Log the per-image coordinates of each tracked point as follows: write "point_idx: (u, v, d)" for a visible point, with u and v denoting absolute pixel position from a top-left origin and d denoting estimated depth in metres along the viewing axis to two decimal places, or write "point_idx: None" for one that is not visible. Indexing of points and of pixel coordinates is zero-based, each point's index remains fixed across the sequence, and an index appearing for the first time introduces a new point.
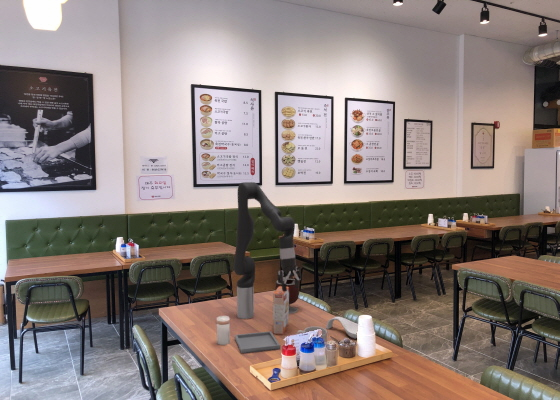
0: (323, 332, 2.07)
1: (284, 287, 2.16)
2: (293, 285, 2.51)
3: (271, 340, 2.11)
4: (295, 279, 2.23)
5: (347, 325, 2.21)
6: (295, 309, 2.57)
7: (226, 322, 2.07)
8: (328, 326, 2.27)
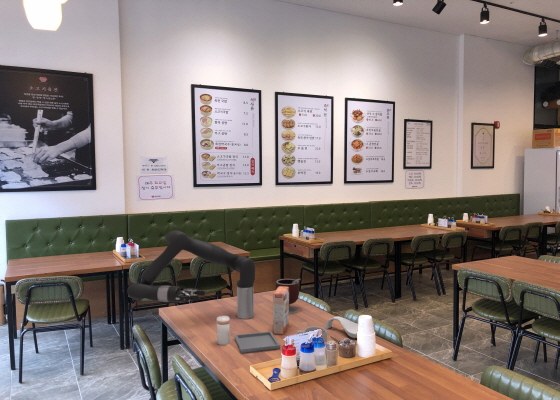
0: (323, 332, 2.07)
1: None
2: (293, 285, 2.51)
3: (271, 340, 2.11)
4: None
5: (346, 325, 2.22)
6: (295, 309, 2.57)
7: (226, 322, 2.07)
8: (327, 326, 2.28)
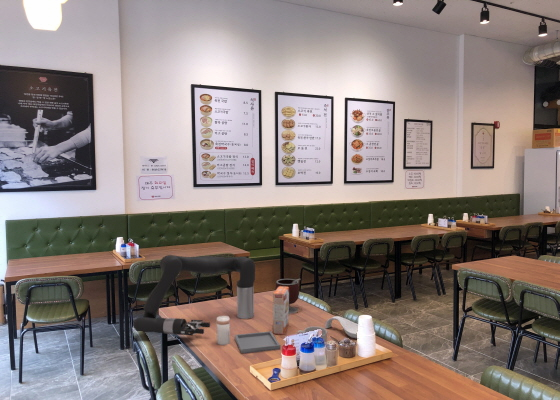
0: (323, 332, 2.07)
1: None
2: (293, 285, 2.51)
3: (271, 340, 2.11)
4: None
5: (346, 325, 2.22)
6: (295, 309, 2.57)
7: (226, 322, 2.07)
8: (327, 325, 2.28)
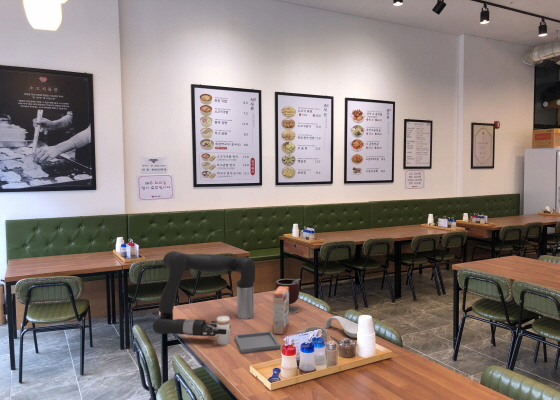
0: (323, 332, 2.07)
1: None
2: (293, 285, 2.51)
3: (271, 340, 2.11)
4: None
5: (345, 324, 2.23)
6: (295, 309, 2.57)
7: (226, 322, 2.07)
8: (326, 325, 2.29)
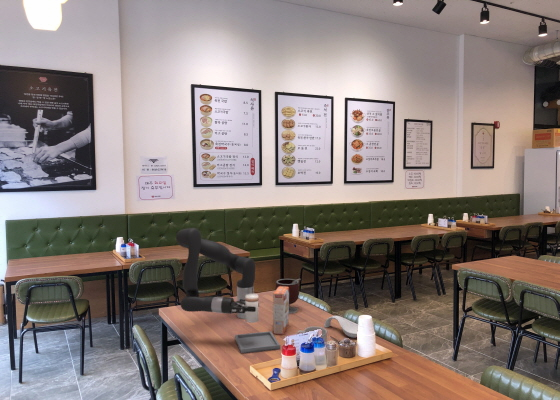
0: (323, 332, 2.07)
1: None
2: (293, 285, 2.51)
3: (271, 340, 2.11)
4: None
5: (344, 324, 2.23)
6: (295, 309, 2.57)
7: (255, 299, 2.04)
8: (326, 325, 2.29)
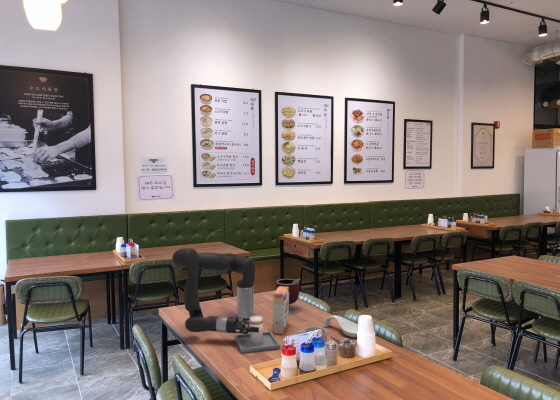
0: (323, 332, 2.07)
1: None
2: (293, 285, 2.51)
3: (271, 340, 2.11)
4: (249, 328, 2.04)
5: (344, 324, 2.23)
6: (295, 309, 2.57)
7: (260, 322, 2.05)
8: (325, 324, 2.30)
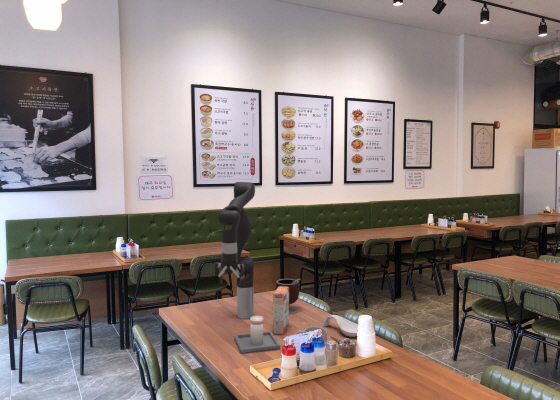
0: (323, 332, 2.07)
1: (219, 280, 2.14)
2: (293, 285, 2.51)
3: (271, 340, 2.11)
4: None
5: (342, 323, 2.24)
6: (295, 309, 2.57)
7: (260, 322, 2.05)
8: (325, 324, 2.31)
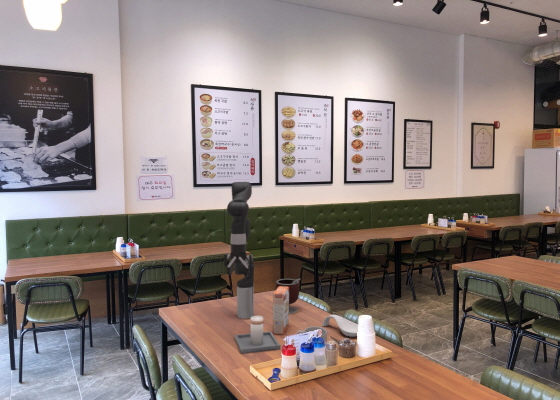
0: (323, 332, 2.07)
1: (228, 270, 2.18)
2: (293, 285, 2.51)
3: (271, 340, 2.11)
4: None
5: (342, 323, 2.24)
6: (295, 309, 2.57)
7: (260, 322, 2.05)
8: (324, 324, 2.31)
